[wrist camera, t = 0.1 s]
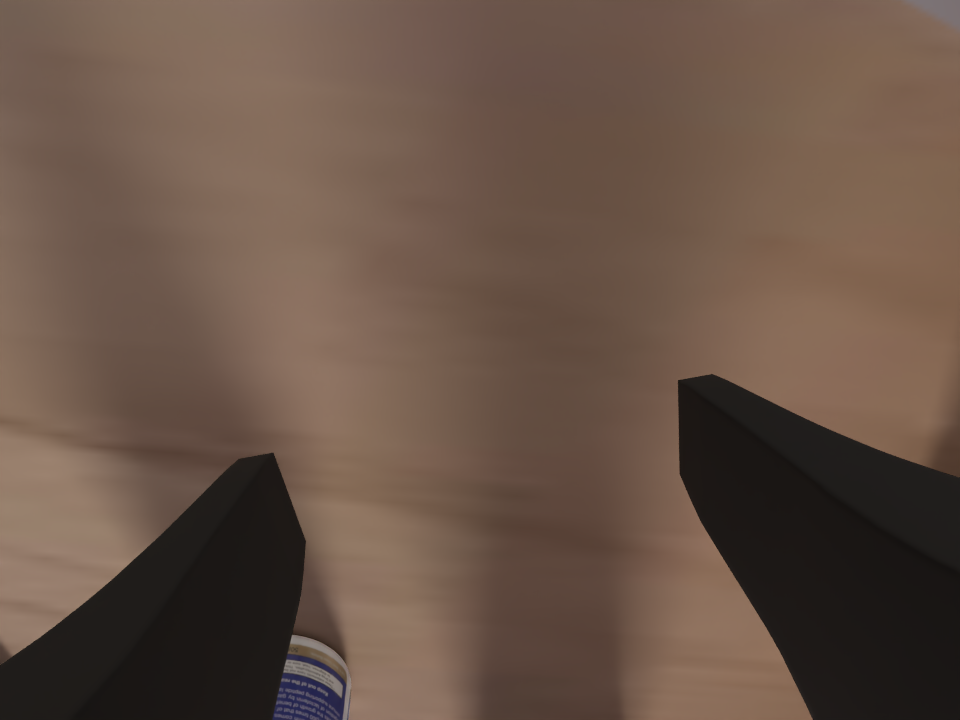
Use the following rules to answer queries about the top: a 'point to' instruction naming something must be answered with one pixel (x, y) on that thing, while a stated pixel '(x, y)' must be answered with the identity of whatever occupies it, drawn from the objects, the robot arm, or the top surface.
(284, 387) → the top surface
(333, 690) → the pill bottle
